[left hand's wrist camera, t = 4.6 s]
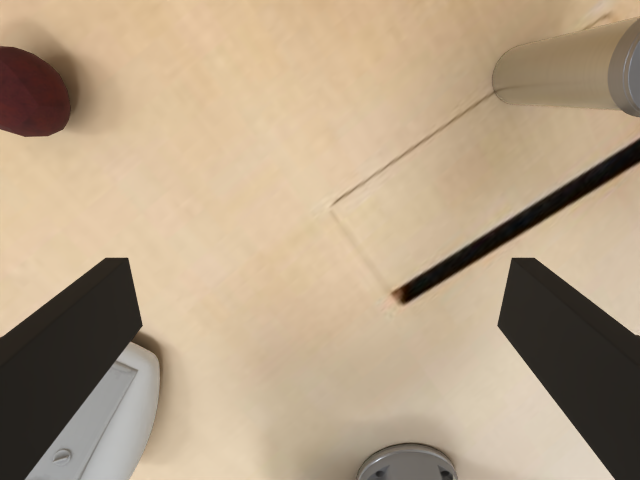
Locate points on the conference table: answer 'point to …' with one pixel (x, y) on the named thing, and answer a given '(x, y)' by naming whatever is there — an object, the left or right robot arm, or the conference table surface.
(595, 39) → the bottle
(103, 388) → the projector
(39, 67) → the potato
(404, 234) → the conference table surface
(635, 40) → the lid
